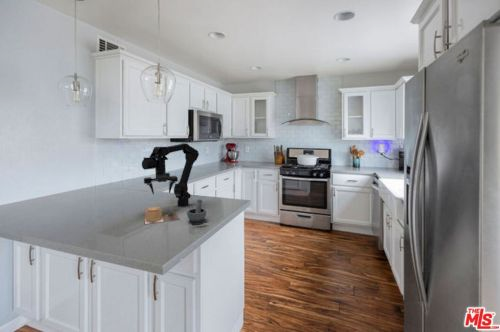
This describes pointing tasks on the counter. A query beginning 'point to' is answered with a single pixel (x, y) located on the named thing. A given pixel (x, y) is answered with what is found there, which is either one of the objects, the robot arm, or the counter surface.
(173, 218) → the board
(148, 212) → the tan wooden cube
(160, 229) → the counter surface
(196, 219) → the mortar and pestle
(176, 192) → the robot arm
